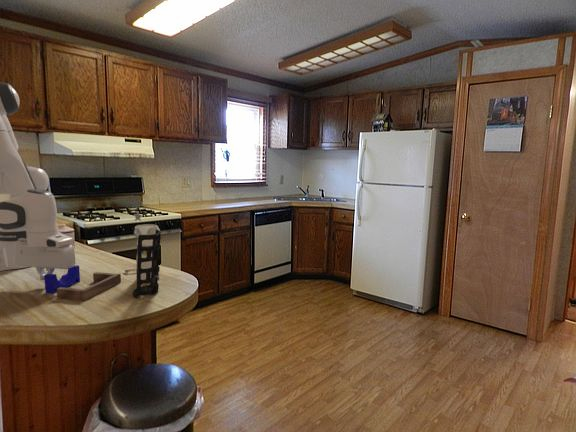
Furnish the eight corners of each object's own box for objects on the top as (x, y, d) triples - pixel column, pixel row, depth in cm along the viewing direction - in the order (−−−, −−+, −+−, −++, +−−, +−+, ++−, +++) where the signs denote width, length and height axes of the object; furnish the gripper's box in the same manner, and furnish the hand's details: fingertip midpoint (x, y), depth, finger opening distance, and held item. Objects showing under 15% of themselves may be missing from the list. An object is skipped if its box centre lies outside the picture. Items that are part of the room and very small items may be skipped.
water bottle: (159, 282, 133) (156, 211, 129) (133, 283, 132) (130, 211, 128) (162, 275, 141) (160, 208, 137) (138, 276, 140) (135, 208, 136)
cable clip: (68, 281, 133) (67, 264, 132) (80, 282, 133) (79, 265, 132) (41, 293, 122) (39, 274, 121) (54, 294, 121) (52, 275, 120)
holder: (139, 285, 129) (142, 227, 126) (162, 287, 129) (166, 229, 126) (128, 297, 118) (132, 234, 115) (153, 299, 118) (157, 237, 115)
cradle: (57, 298, 117) (56, 288, 116) (96, 280, 134) (95, 272, 134) (84, 300, 115) (84, 291, 115) (120, 282, 133) (120, 273, 132)
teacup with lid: (79, 248, 180) (77, 224, 179) (57, 252, 173) (56, 226, 172) (68, 245, 188) (67, 221, 186) (47, 248, 181) (46, 223, 179)
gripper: (7, 239, 124) (11, 280, 126) (62, 242, 120) (65, 285, 122) (24, 235, 130) (27, 275, 132) (77, 238, 127) (79, 279, 128)
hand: (46, 280), depth 127 cm, fingers closed
